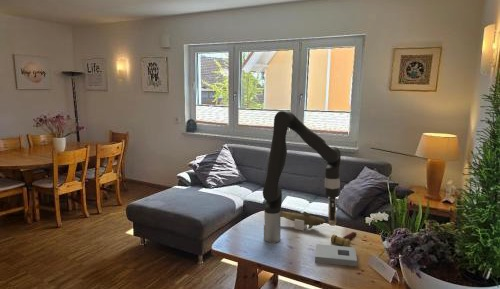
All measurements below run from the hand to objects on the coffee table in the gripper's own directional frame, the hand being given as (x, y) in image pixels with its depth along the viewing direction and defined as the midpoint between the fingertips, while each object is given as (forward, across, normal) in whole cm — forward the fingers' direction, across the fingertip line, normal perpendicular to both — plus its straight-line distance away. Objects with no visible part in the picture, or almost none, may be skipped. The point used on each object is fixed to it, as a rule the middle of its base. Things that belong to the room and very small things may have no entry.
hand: (332, 217), depth 169 cm
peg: (+4, 0, 0) cm, 4 cm away
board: (+19, +6, +1) cm, 20 cm away
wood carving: (+19, -29, -20) cm, 40 cm away
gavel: (+20, -17, +9) cm, 28 cm away
